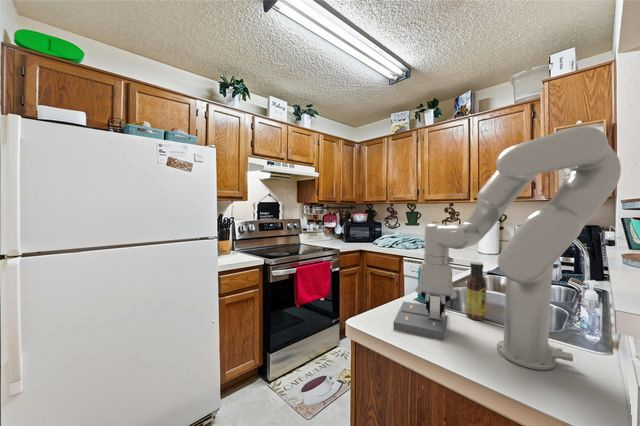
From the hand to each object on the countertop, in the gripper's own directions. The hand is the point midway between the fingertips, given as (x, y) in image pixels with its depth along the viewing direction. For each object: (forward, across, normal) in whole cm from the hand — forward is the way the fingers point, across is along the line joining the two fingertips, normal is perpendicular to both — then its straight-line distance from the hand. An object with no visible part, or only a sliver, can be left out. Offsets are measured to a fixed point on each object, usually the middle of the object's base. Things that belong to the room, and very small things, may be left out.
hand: (435, 312), depth 90 cm
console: (+4, +4, 0) cm, 6 cm away
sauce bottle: (+4, -13, -13) cm, 19 cm away
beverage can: (+4, +5, -21) cm, 22 cm away
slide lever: (+1, 0, 0) cm, 1 cm away
